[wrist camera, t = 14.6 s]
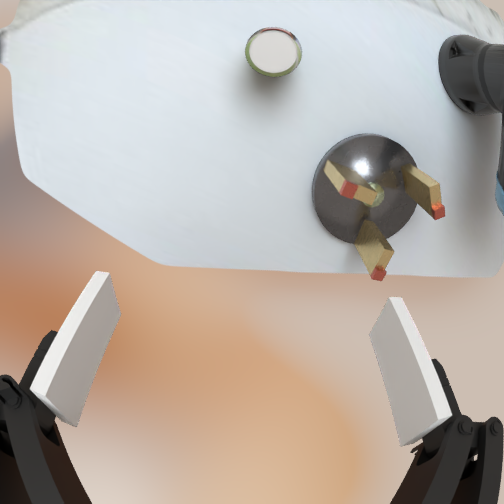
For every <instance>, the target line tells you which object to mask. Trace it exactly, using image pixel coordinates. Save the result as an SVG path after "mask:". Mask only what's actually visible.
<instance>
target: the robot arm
mask: <svg viewBox="0 0 504 504" xmlns="http://www.w3.org/2000/svg"><path fill="white" fill-rule="evenodd" d="M439 69H440V75H441V79H442V82H443V84H444V87H445V89H446V91H447V93H448V94H449V96H450V98H451V99H452V100H453V102H454V103H455V104H456V105H457V106H458V107H460V108H461V109H462V110H464V111H466V112H469V113H472V114H475V115H488V114H494V113H499V112H501V113H502V133H501V147H500V158H499V166H498V171H497V174H496V179H497V184H496V192H495V198H496V201H497V205H498V207H499V209H500V211H501V213H502V214H503V215H504V45H503V44H489V43H487V42H485V41H482V40H480V39H477V38H475V37H472V36H469V35H454V36H451V37H449V38H448V39H446V41H445V42H444V43H443V45H442V47H441V50H440V54H439ZM120 316H121V312H120V309H119V306H118V302H117V299H116V295H115V291H114V288H113V284H112V281H111V276H110V273H106V272H98V271H96V272H95V274H94V275H93V276H92V278H91V280H90V281H89V283H88V284H87V286H86V287H85V289H84V290H83V292H82V294H81V295H80V297H79V298H78V300H77V301H76V303H75V305H74V306H73V308H72V310H71V311H70V313H69V314H68V316H67V318H66V319H65V321H64V323H63V325H62V327H61V328H60V330H59V332H56V331H52V330H51V331H50V332H49V333H48V334H47V335H46V336H45V337H44V338H43V339H42V341H41V343H40V345H39V346H38V349H37V350H36V352H35V354H34V357H33V358H32V360H31V361H30V363H29V365H28V368H27V369H26V371H25V373H24V376H23V377H22V380H21V382H20V383H19V385H18V384H17V382H16V381H15V380H14V379H13V378H12V377H11V376H9V375H1V376H0V504H92V502H91V501H90V499H89V497H88V495H87V493H86V492H85V490H84V488H83V486H82V484H81V482H80V480H79V478H78V476H77V474H76V471H75V469H74V467H73V465H72V463H71V460H70V458H69V456H68V453H67V451H66V448H65V446H64V443H63V441H62V438H61V435H60V433H59V430H58V427H57V424H56V423H55V421H54V420H55V417H56V416H57V417H58V418H59V419H60V420H61V421H63V422H65V423H67V424H70V425H72V426H75V427H77V425H78V422H79V419H80V416H81V413H82V410H83V407H84V405H85V402H86V399H87V396H88V393H89V391H90V388H91V385H92V383H93V380H94V377H95V375H96V372H97V370H98V367H99V365H100V362H101V359H102V357H103V355H104V353H105V350H106V347H107V345H108V343H109V341H110V338H111V336H112V334H113V332H114V329H115V327H116V325H117V323H118V321H119V318H120ZM369 336H370V339H371V342H372V345H373V348H374V351H375V354H376V358H377V361H378V364H379V367H380V370H381V374H382V377H383V381H384V384H385V387H386V391H387V395H388V398H389V402H390V406H391V409H392V413H393V417H394V421H395V425H396V429H397V433H398V438H399V442H400V446H405V445H409V444H413V443H415V442H417V441H418V440H420V439H421V438H422V439H423V443H421V444H419V445H418V446H416V447H415V448H413V449H412V451H411V453H413V452H415V451H416V450H418V451H417V452H416V453H415V458H414V460H413V462H412V464H411V466H410V468H409V470H408V472H407V474H406V476H405V478H404V480H403V482H402V483H401V485H400V487H399V489H398V491H397V492H396V494H395V496H394V498H393V499H392V501H391V503H390V504H497V502H498V496H499V490H500V482H501V472H502V462H503V425H502V423H501V421H500V420H499V419H498V418H496V417H491V418H490V419H488V420H487V421H486V422H472V420H471V419H470V418H469V417H468V416H465V415H462V414H461V412H460V410H459V407H458V404H457V401H456V399H455V396H454V393H453V391H452V388H451V386H450V385H449V384H450V383H449V381H448V378H446V377H447V376H446V373H445V371H444V369H443V367H442V365H441V364H440V363H439V362H438V361H437V360H436V359H431V358H430V356H429V354H428V351H427V349H426V347H425V345H424V342H423V341H422V338H421V336H420V334H419V332H418V330H417V327H416V325H415V323H414V321H413V319H412V317H411V315H410V313H409V311H408V309H407V307H406V305H405V303H404V301H403V299H402V297H389V298H388V300H387V302H386V304H385V306H384V308H383V310H382V312H381V314H380V316H379V317H378V319H377V321H376V323H375V325H374V326H373V328H372V330H371V332H370V334H369ZM477 454H478V457H477V460H476V461H474V456H475V455H477Z"/></svg>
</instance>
